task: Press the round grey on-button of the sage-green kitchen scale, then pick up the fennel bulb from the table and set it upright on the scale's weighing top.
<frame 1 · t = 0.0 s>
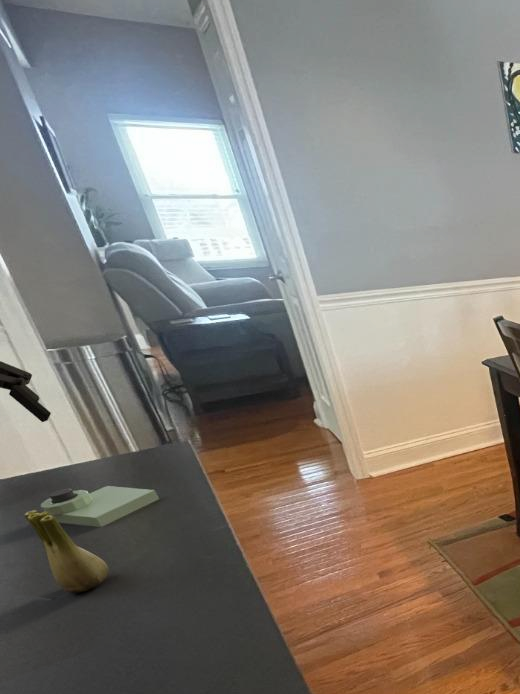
scale: (107, 510, 102), on the table
scale button: (62, 496, 99), point 4 cm above the table, slide at 0.1 cm
fennel bulb: (91, 586, 83), on the table
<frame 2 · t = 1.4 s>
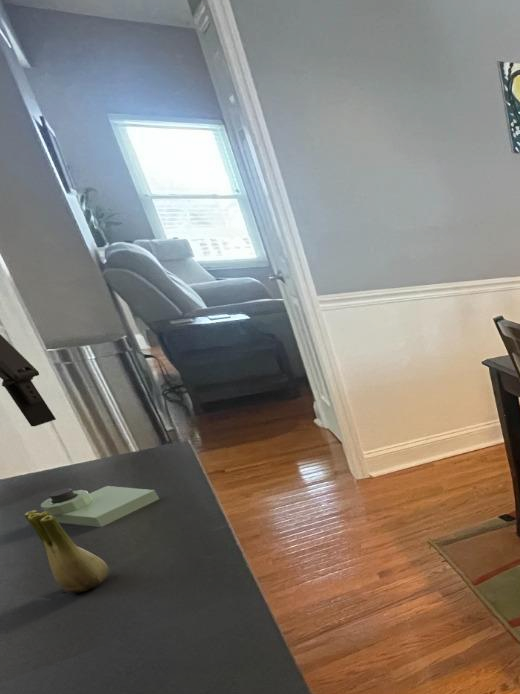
hand: (12, 422, 93), 17 cm above the table, tool pointing down, fingers open, 13 cm apart
nothing on the table moved.
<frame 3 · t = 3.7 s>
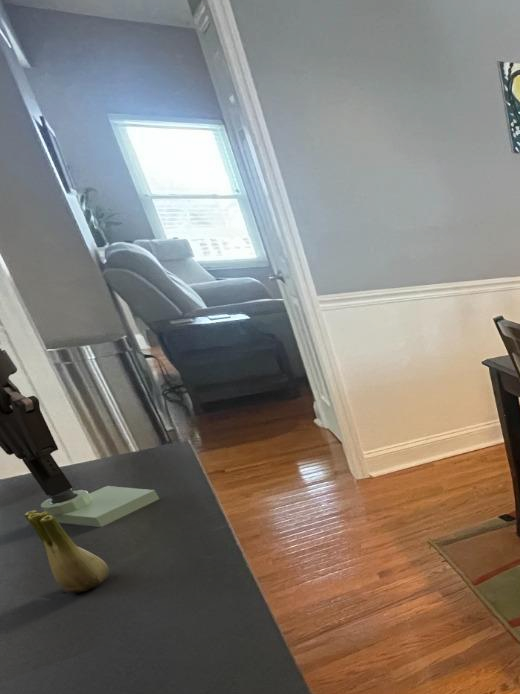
hand: (59, 491, 99), 5 cm above the table, tool pointing down, fingers closed
scale button: (63, 496, 99), point 4 cm above the table, slide at 0.1 cm, touching gripper
everything else where it was.
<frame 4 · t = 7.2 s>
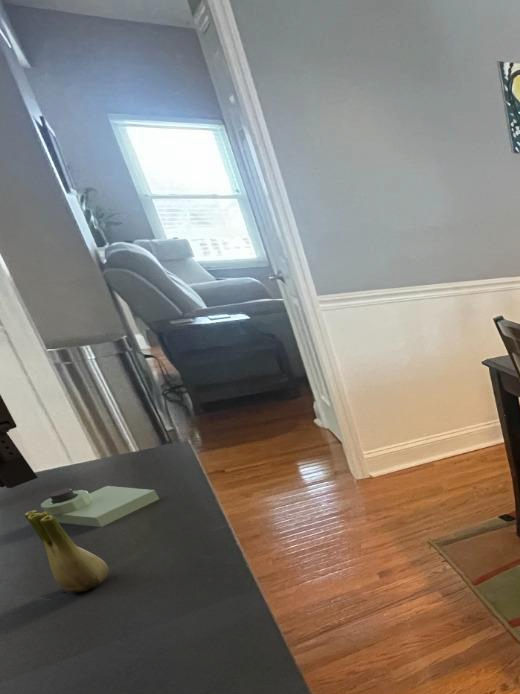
hand: (18, 482, 76), 17 cm above the table, tool pointing down, fingers closed
scale button: (62, 496, 99), point 4 cm above the table, slide at 0.1 cm
everything else where it was.
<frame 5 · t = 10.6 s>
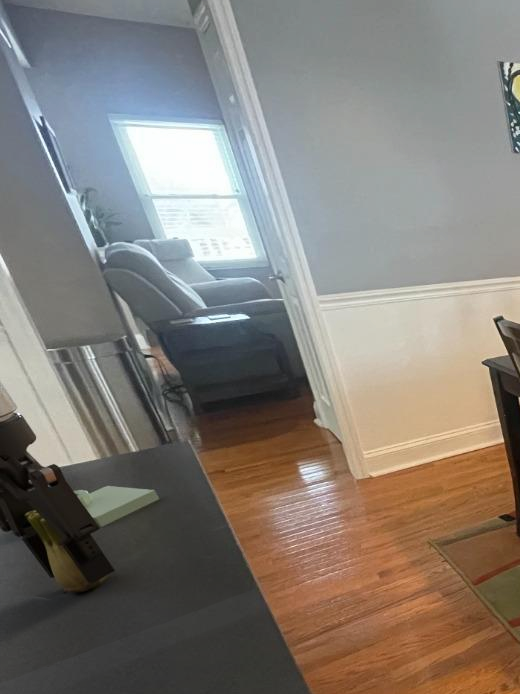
hand: (82, 573, 82), 2 cm above the table, tool pointing down, fingers closed on fennel bulb, 6 cm apart
fennel bulb: (92, 586, 83), on the table, touching gripper
everything else where it was.
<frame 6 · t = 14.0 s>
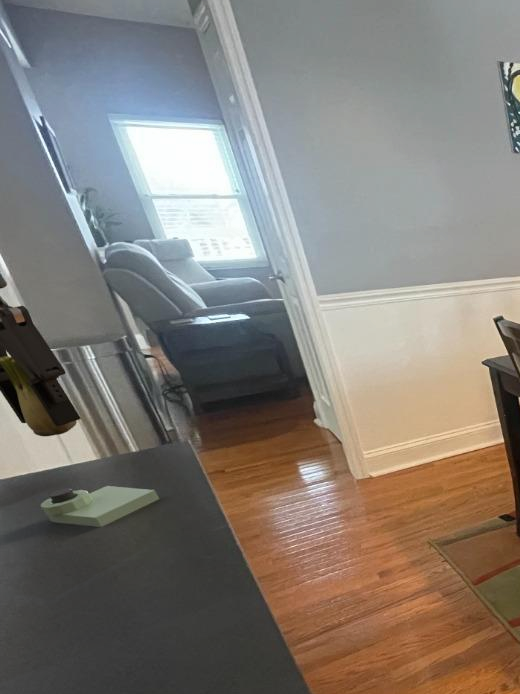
hand: (51, 420, 90), 18 cm above the table, tool pointing down, fingers closed on fennel bulb, 6 cm apart
fennel bulb: (60, 433, 91), point 16 cm above the table, touching gripper
everything else where it was.
when the fingers open (4 cm above the table, at t = 17.9 s): fennel bulb stays where it is, resting on scale.
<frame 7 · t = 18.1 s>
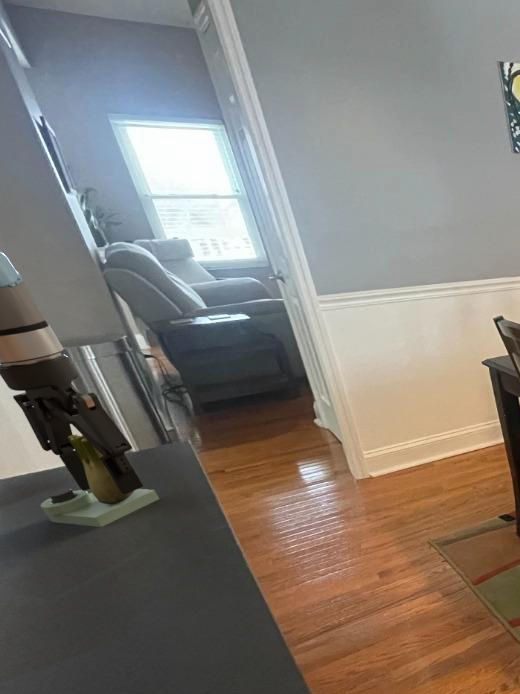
hand: (112, 488, 101), 4 cm above the table, tool pointing down, fingers open, 8 cm apart
fennel bulb: (120, 500, 102), point 2 cm above the table, touching scale
everything else where it was.
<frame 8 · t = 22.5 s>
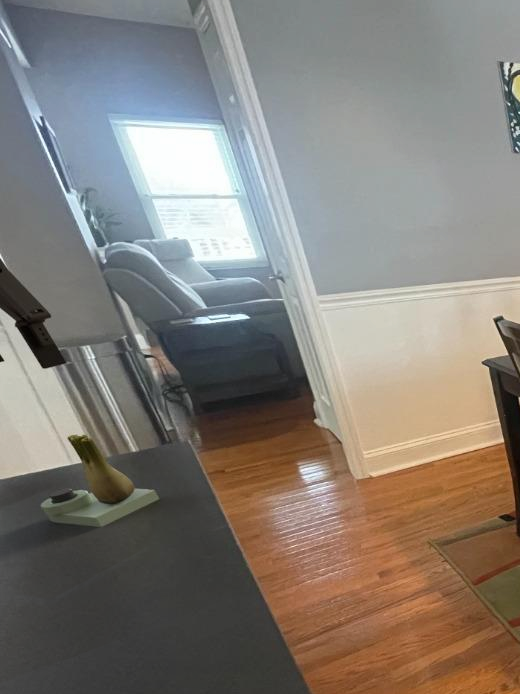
hand: (23, 365, 95), 25 cm above the table, tool pointing down, fingers open, 13 cm apart
nothing on the table moved.
at the end: scale button pushed in 0.8 cm at the most during the clip, back to where it started at the end; fennel bulb inside the target area on the scale (1.8 cm from its centre), point 1.7 cm above the scale's base; fennel bulb touching scale; fennel bulb tilted 0° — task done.
